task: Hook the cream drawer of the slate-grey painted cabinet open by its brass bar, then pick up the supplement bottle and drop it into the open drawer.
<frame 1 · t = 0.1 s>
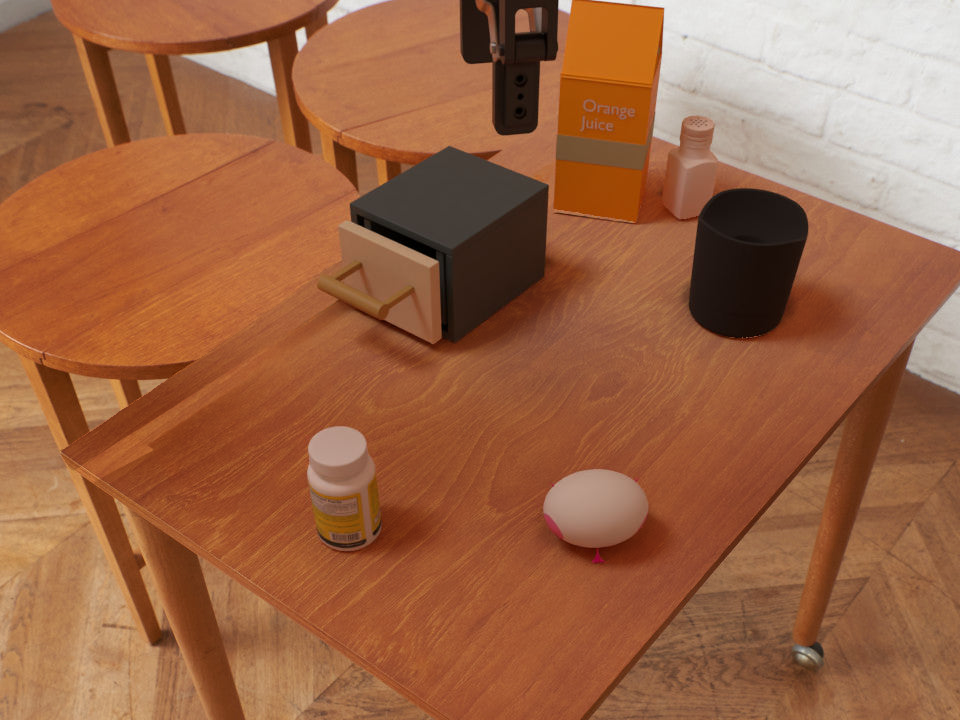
hand: (497, 94, 56), 32 cm above the table, tool pointing down, fingers open, 8 cm apart
orange juice: (600, 202, 111), on the table
supplement bottle: (349, 531, 77), on the table
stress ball: (590, 531, 78), on the table
cabinet: (453, 286, 99), on the table
pen holder: (734, 314, 97), on the table
drawer: (415, 265, 93), point 5 cm above the table, slide at 1.0 cm
pepper shaker: (684, 211, 110), on the table
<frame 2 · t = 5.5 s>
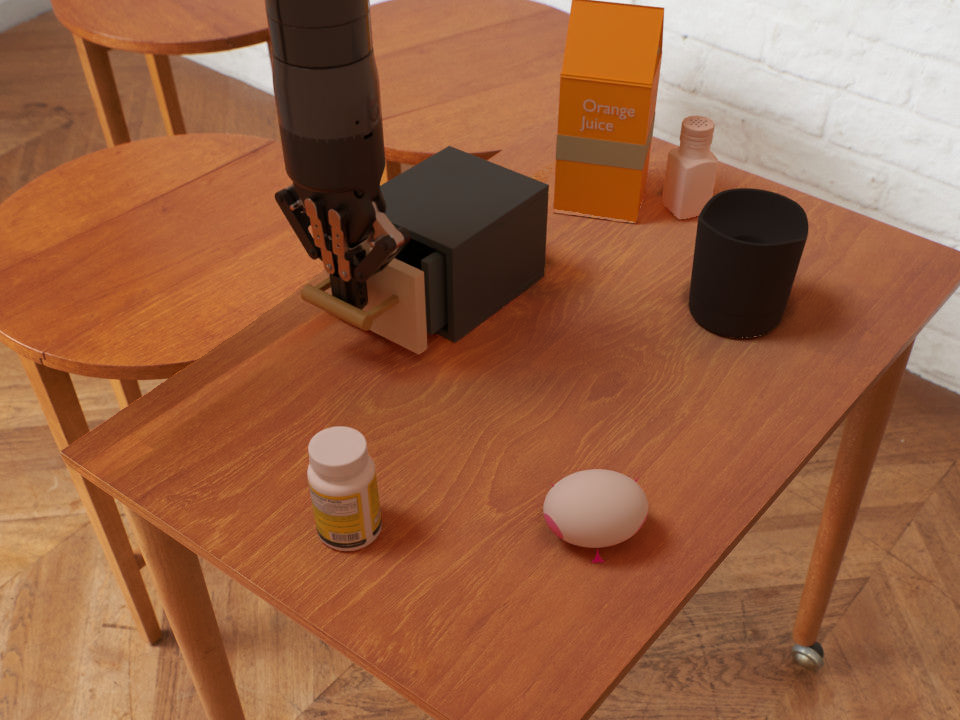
hand: (351, 309, 89), 5 cm above the table, tool pointing down, fingers closed
drawer: (400, 275, 92), point 5 cm above the table, slide at 2.9 cm, touching gripper
everything else where it was.
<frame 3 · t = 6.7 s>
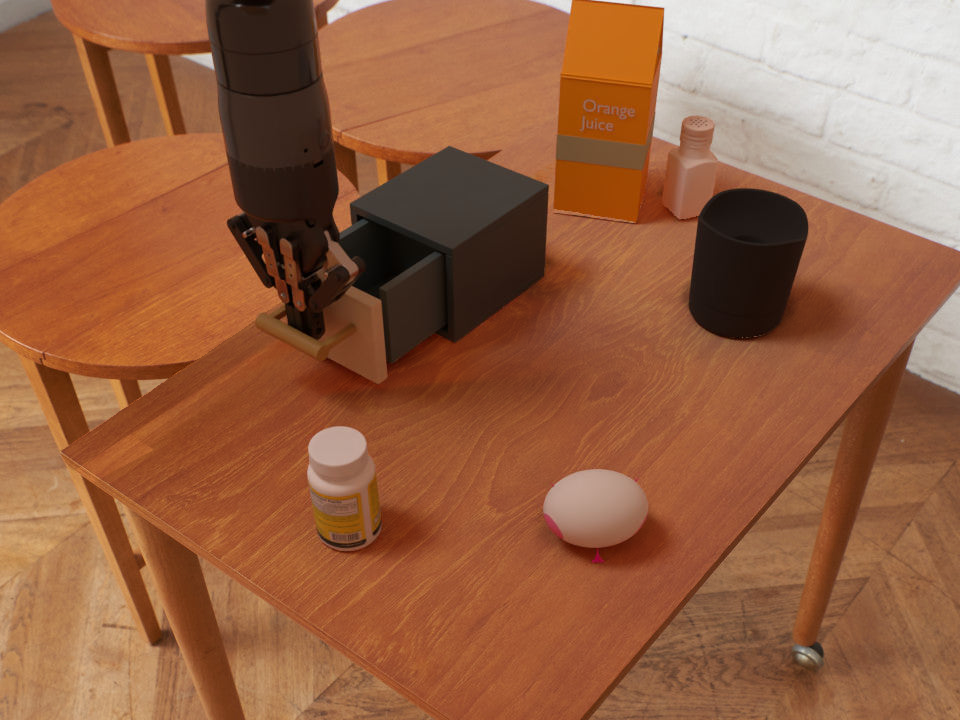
hand: (308, 338, 86), 4 cm above the table, tool pointing down, fingers closed
drawer: (360, 302, 89), point 5 cm above the table, slide at 8.1 cm, touching gripper
everything else where it was.
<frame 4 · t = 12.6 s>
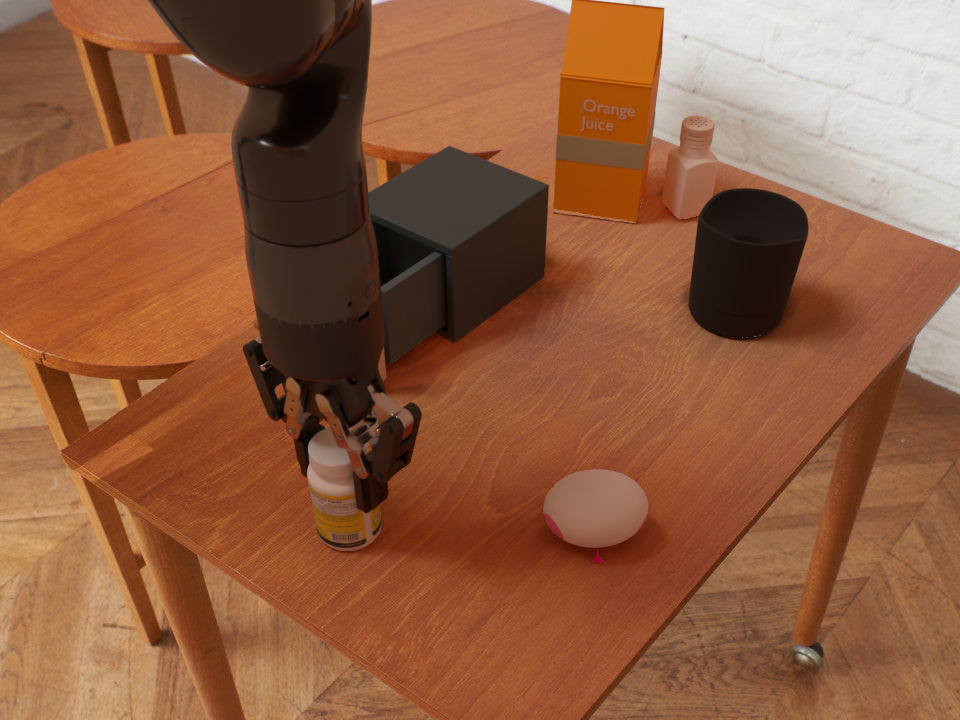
hand: (343, 487, 74), 4 cm above the table, tool pointing down, fingers closed on supplement bottle, 4 cm apart
supplement bottle: (349, 531, 77), on the table, touching gripper
drawer: (359, 302, 89), point 5 cm above the table, slide at 8.2 cm
everything else where it was.
when the fingers open (10 cm above the table, at t = 19.5 s): supplement bottle drops 3 cm, resting on drawer.
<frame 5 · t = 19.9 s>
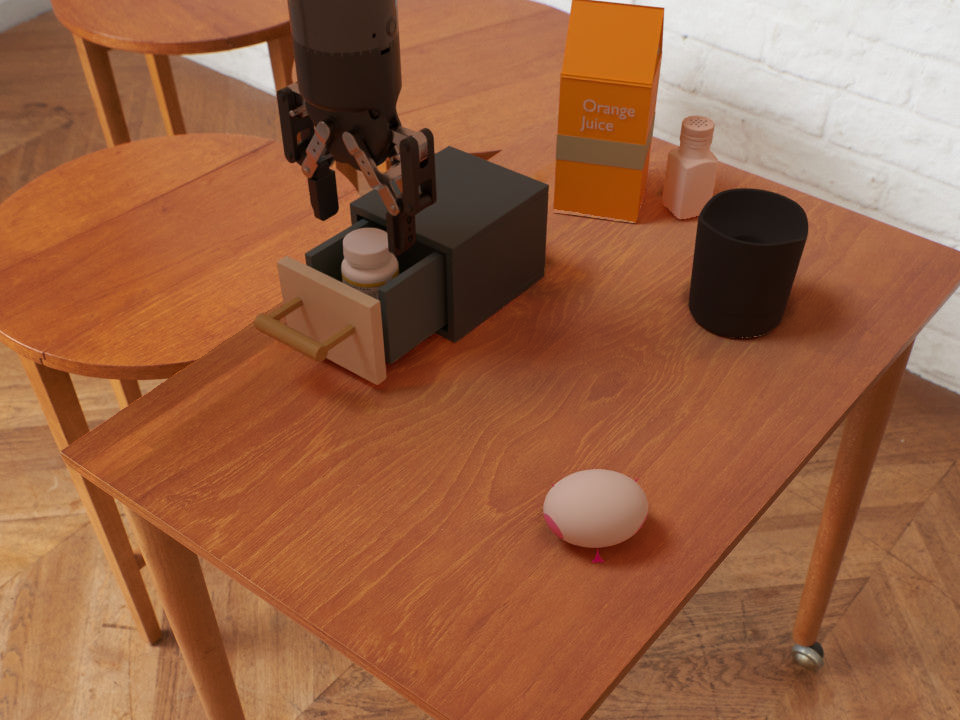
hand: (363, 232, 85), 11 cm above the table, tool pointing down, fingers open, 7 cm apart
supplement bottle: (375, 327, 91), point 2 cm above the table, touching drawer
drawer: (359, 302, 89), point 5 cm above the table, slide at 8.2 cm, touching supplement bottle
everything else where it was.
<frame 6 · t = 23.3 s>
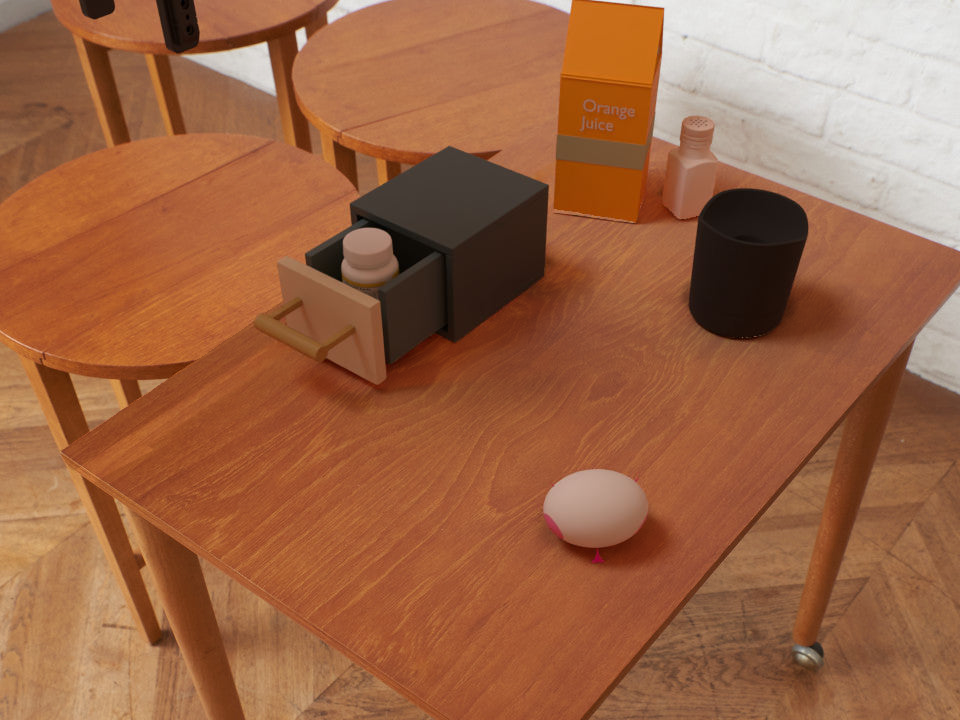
hand: (141, 31, 70), 28 cm above the table, tool pointing down, fingers open, 8 cm apart
nothing on the table moved.
at the end: drawer slide at 8.2 cm; supplement bottle inside the target area in the drawer (0.7 cm from its centre), point 1.8 cm above the cabinet's base; the gripper is holding nothing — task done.
